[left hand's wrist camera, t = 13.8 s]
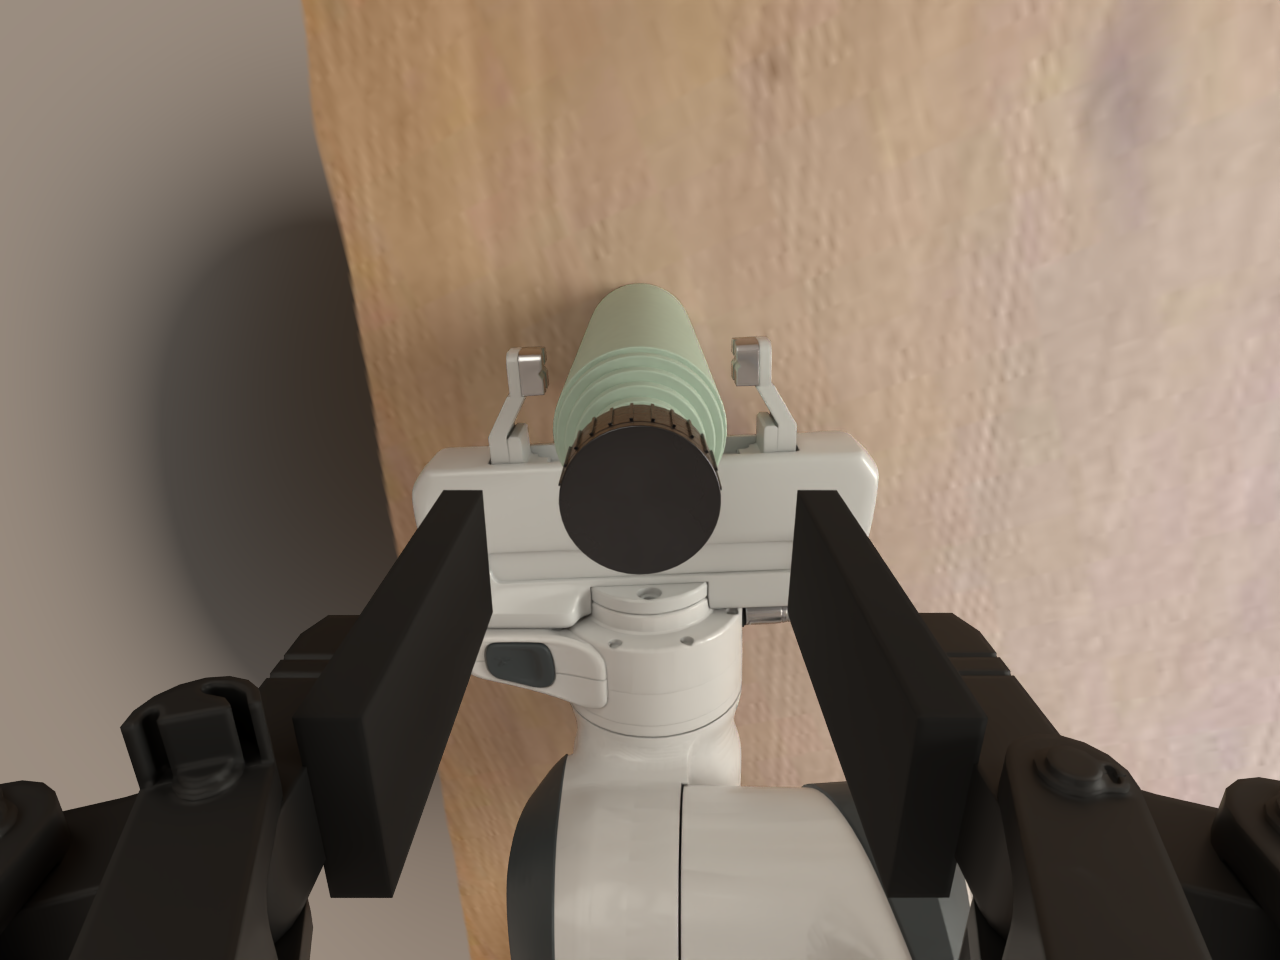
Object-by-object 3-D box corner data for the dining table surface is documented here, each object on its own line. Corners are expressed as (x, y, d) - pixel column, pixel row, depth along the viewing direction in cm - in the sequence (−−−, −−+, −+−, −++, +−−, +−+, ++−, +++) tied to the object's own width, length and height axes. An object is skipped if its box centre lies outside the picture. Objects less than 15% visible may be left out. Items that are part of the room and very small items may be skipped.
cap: (586, 557, 19) (580, 591, 18) (545, 421, 18) (535, 444, 16) (728, 526, 19) (737, 558, 17) (698, 385, 18) (705, 406, 16)
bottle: (602, 397, 37) (563, 611, 18) (576, 297, 36) (501, 417, 16) (701, 374, 37) (767, 569, 18) (679, 272, 35) (727, 365, 16)
